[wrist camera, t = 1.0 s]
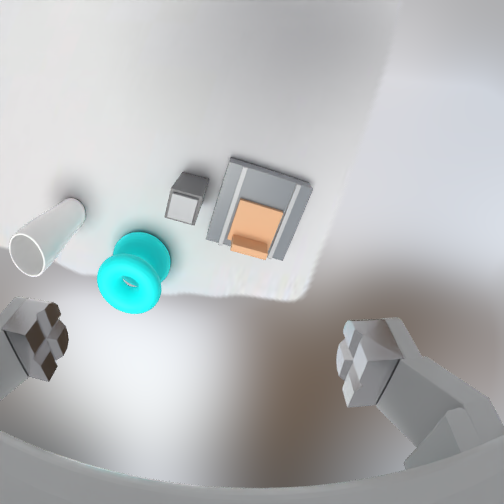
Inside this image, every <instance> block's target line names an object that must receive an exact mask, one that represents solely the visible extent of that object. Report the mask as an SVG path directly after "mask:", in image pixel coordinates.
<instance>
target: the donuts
mask: <svg viewBox="0 0 504 504" xmlns="http://www.w3.org/2000/svg"><path fill="white" fill-rule="evenodd" d="M170 266H171V261H170V255H169V252H168V250H167V248H166V247H165V245H164V244H163V243H162V242H161V241H160V240H159V239H158V238H156V237H154V236H153V235H150V234H148V233H144V232H133V233H129V234H127V235H125V236H123V237H122V238H121V239H120V240H119V241H118V242H117V244H116V245H115V248H114V251H113V256H111V257H109V258H108V259H106V260H105V261H104V262H103V263H102V265H101V266H100V268H99V271H98V275H97V283H98V287H99V290H100V292H101V294H102V296H103V297H104V298H105V300H106V301H107V302H108V303H109V304H110V305H111V306H113V307H114V308H116V309H118V310H120V311H122V312H125V313H130V314H139V313H144V312H146V311H149V310H150V309H152V308H153V307H154V306H155V305H156V303H157V302H158V300H159V298H160V295H161V282H162V281H163V280H164V279H165V278H166V277H167V275H168V273H169V270H170ZM123 279H124V280H125V281H127V282H128V283H130V284H132V285H134V286H137V287H131V286H129V285H127V284H126V283H125V282H124V281H123Z"/></svg>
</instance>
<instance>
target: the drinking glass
mask: <svg viewBox="0 0 504 504" xmlns="http://www.w3.org/2000/svg"><path fill="white" fill-rule="evenodd" d="M85 216H86V214H85V209H84V207H83V205H82V204H81V203H80V202H79V201H78V200H76V199H74V198H68V199H65V200H63V201H62V202H61V203H59V204H58V205H56V206H54V207H53V208H51V209H49V210H47V211H46V212H44V213H42V214H41V215H39V216H37V217H36V218H34V219H32V220H31V221H29V222H28V223H27V224H25V225H24V226H23V227H22V228H21V229H19V230H18V231H17V232H16V233H15V234H14V235H13V236H12V237H11V239H10V242H9V252H10V255H11V258H12V260H13V262H14V264H15V265H16V266H17V268H18V269H19V270H20V271H21V272H23V273H24V274H26V275H28V276H32V277H36V276H39V275H41V274H42V273H43V272H44V271H45V270H46V269H47V268H48V267H49V266H50V265H51V264H52V262H53V261H54V260H55V259H56V258H57V256H58V255H59V254H60V252H61V251H62V249H63V248H64V247H65V245H66V244H67V243H68V241H69V240H70V239H71V237H72V236H73V235H74V233H75V232H76V231H77V229H78V228H79V227H80V226H81V225H82V224H83V223H84V221H85Z"/></svg>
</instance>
